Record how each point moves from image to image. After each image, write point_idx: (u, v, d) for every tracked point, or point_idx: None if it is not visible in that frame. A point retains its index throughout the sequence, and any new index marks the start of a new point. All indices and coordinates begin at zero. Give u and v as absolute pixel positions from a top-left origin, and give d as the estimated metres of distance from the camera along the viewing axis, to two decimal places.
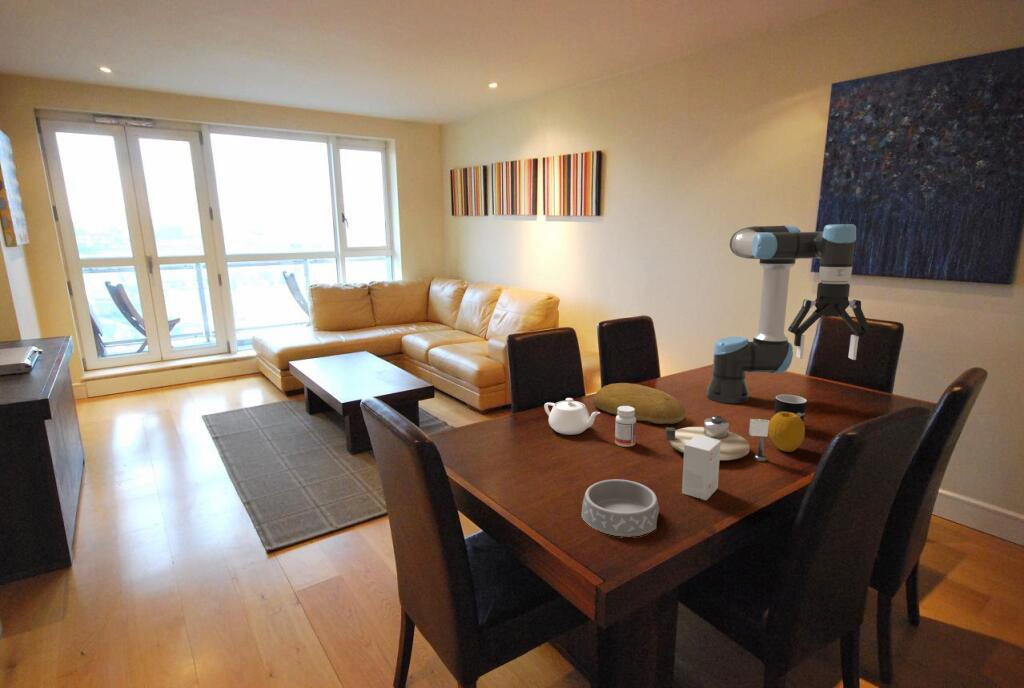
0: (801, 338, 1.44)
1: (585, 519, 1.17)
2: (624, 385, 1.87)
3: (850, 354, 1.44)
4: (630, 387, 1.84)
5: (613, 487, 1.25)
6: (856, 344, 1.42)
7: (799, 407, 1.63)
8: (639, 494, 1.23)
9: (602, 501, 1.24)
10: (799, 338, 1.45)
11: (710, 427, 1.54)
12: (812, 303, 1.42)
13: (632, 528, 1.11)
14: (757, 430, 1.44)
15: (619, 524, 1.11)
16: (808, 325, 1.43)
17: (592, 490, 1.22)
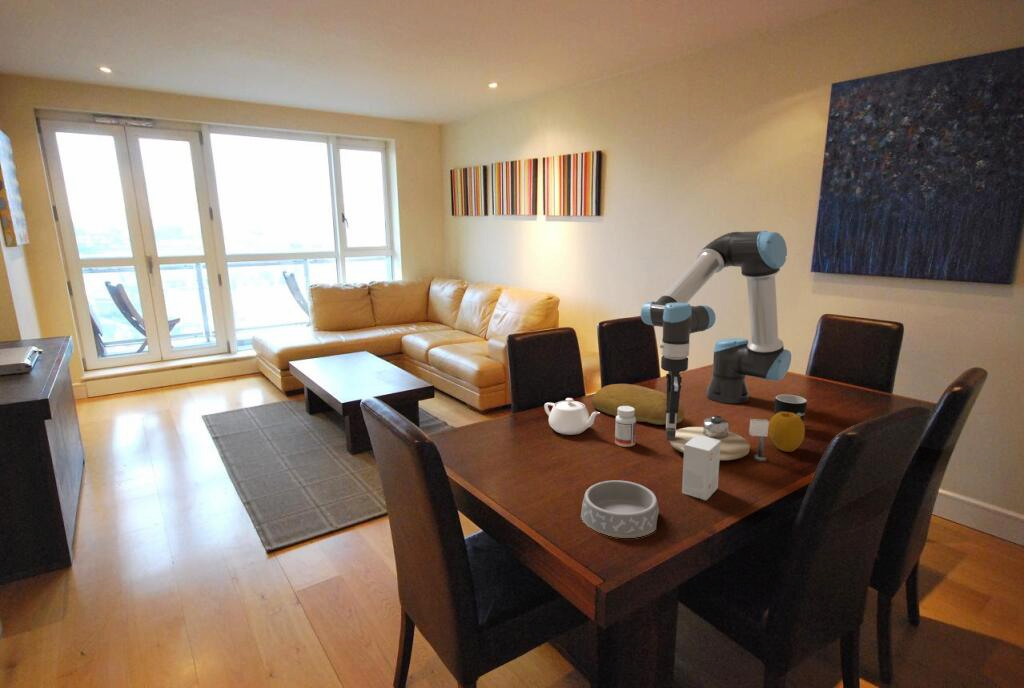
0: None
1: (584, 520, 1.16)
2: (623, 386, 1.86)
3: None
4: (629, 388, 1.83)
5: (613, 488, 1.25)
6: None
7: (799, 407, 1.63)
8: (639, 495, 1.22)
9: (602, 502, 1.24)
10: None
11: (710, 427, 1.54)
12: None
13: (632, 529, 1.10)
14: (757, 430, 1.44)
15: (619, 525, 1.10)
16: (667, 398, 1.55)
17: (591, 491, 1.22)
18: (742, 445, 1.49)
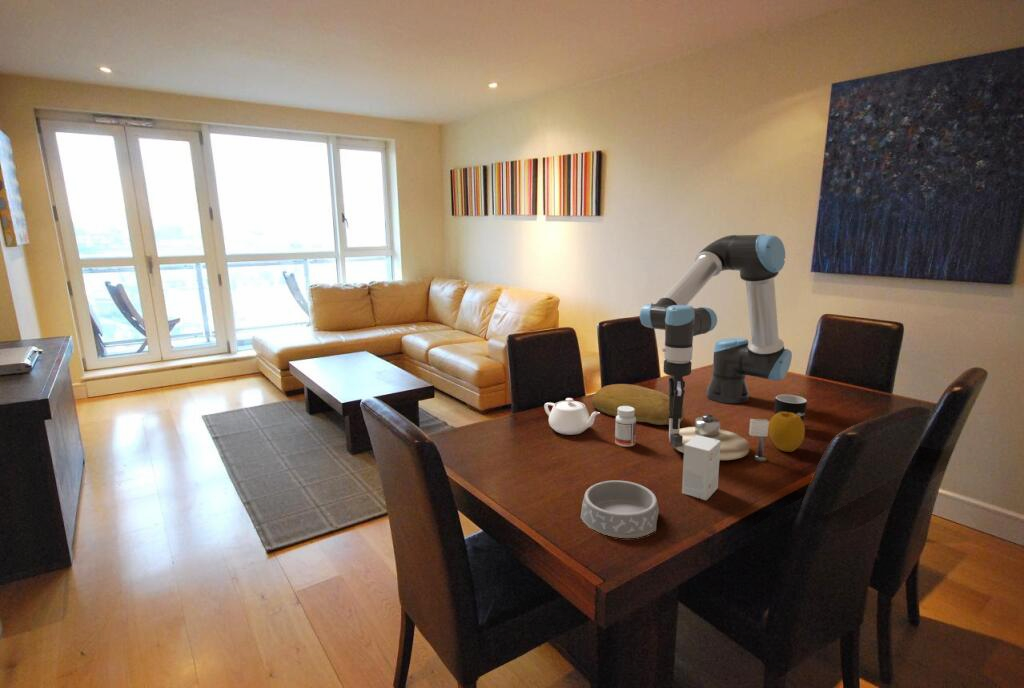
0: None
1: (584, 520, 1.16)
2: (623, 386, 1.85)
3: None
4: (629, 388, 1.83)
5: (612, 488, 1.25)
6: (669, 424, 1.51)
7: (799, 407, 1.63)
8: (639, 495, 1.22)
9: (601, 502, 1.24)
10: None
11: (706, 426, 1.55)
12: None
13: (632, 529, 1.10)
14: (757, 430, 1.44)
15: (619, 525, 1.10)
16: (670, 403, 1.51)
17: (591, 492, 1.22)
18: (740, 440, 1.52)
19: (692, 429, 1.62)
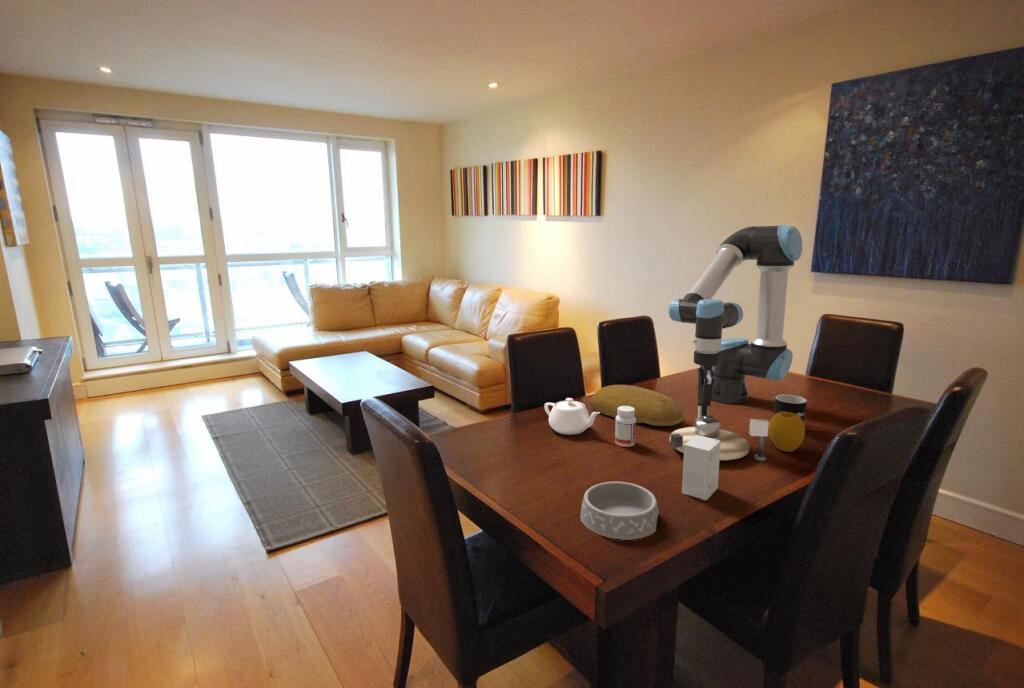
0: None
1: (584, 522, 1.16)
2: (621, 387, 1.84)
3: None
4: (627, 389, 1.82)
5: (612, 489, 1.24)
6: (698, 411, 1.61)
7: (799, 407, 1.63)
8: (638, 496, 1.22)
9: (601, 503, 1.23)
10: None
11: (707, 427, 1.54)
12: None
13: (632, 531, 1.09)
14: (757, 430, 1.44)
15: (619, 527, 1.10)
16: (699, 392, 1.61)
17: (591, 493, 1.21)
18: (740, 440, 1.53)
19: (692, 429, 1.62)
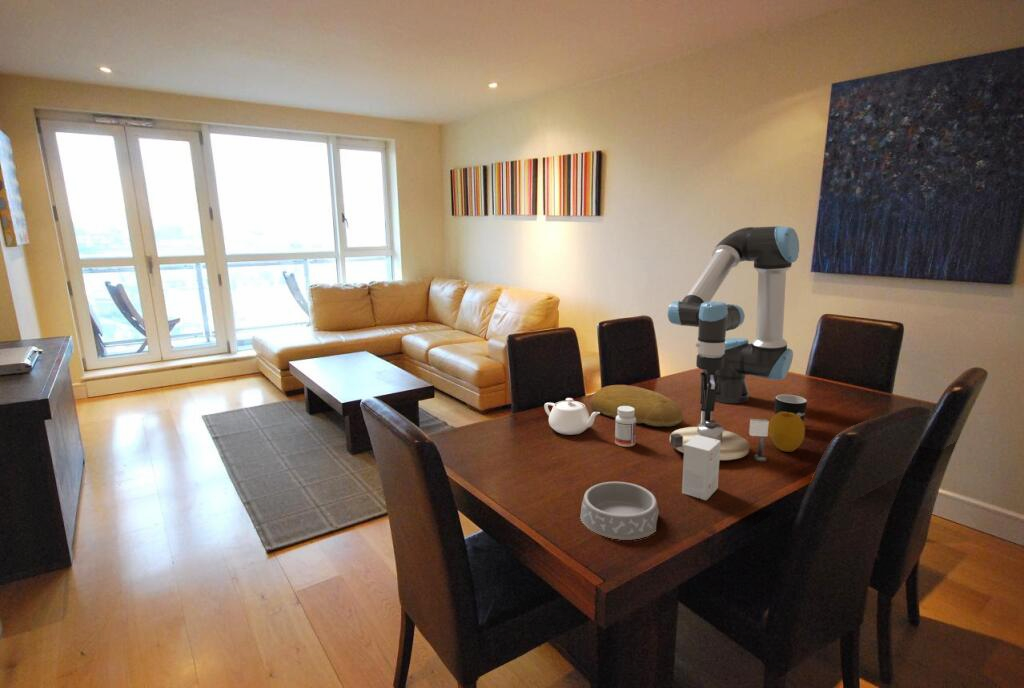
0: None
1: (584, 522, 1.16)
2: (621, 387, 1.84)
3: None
4: (627, 389, 1.82)
5: (612, 489, 1.24)
6: (701, 417, 1.56)
7: (799, 407, 1.63)
8: (638, 496, 1.22)
9: (601, 504, 1.23)
10: None
11: (708, 432, 1.50)
12: None
13: (632, 531, 1.09)
14: (757, 430, 1.44)
15: (619, 527, 1.10)
16: (702, 396, 1.57)
17: (591, 493, 1.21)
18: (740, 440, 1.53)
19: (692, 429, 1.62)
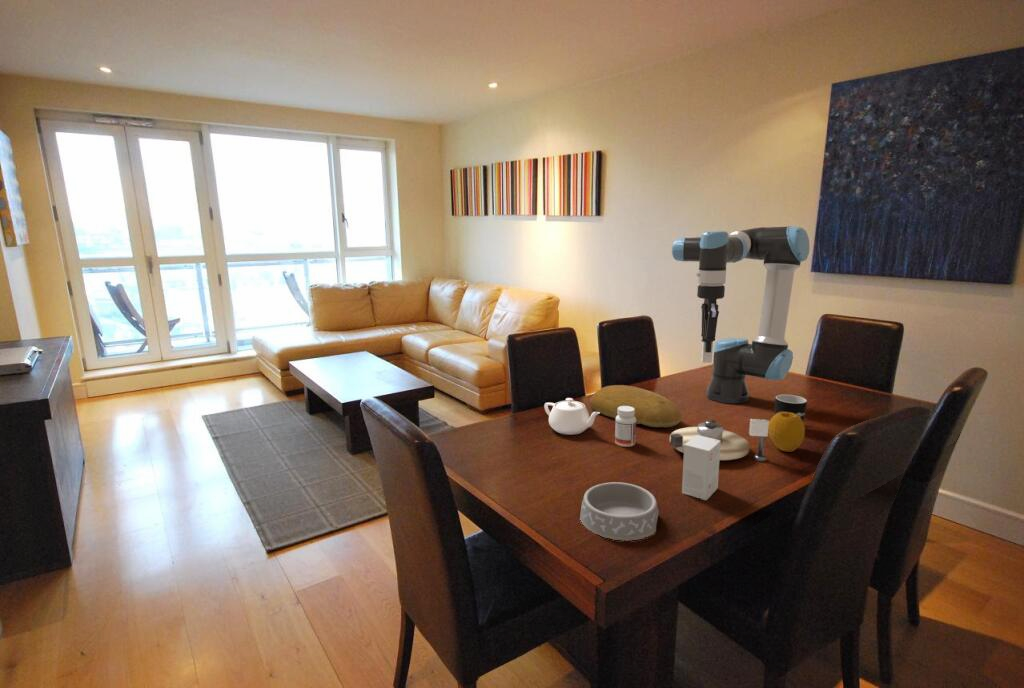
0: None
1: (583, 523, 1.15)
2: (620, 387, 1.84)
3: None
4: (626, 389, 1.81)
5: (612, 490, 1.24)
6: (702, 348, 1.57)
7: (799, 407, 1.63)
8: (638, 497, 1.22)
9: (601, 504, 1.23)
10: None
11: (708, 432, 1.50)
12: None
13: (632, 532, 1.09)
14: (757, 430, 1.44)
15: (618, 528, 1.09)
16: (703, 328, 1.57)
17: (591, 494, 1.21)
18: (740, 440, 1.53)
19: (692, 429, 1.62)
